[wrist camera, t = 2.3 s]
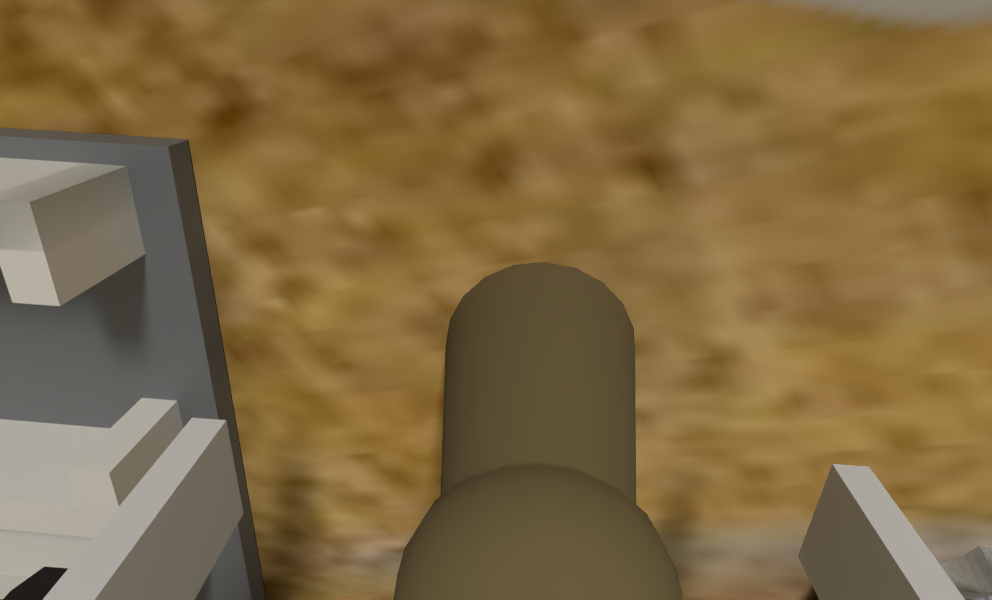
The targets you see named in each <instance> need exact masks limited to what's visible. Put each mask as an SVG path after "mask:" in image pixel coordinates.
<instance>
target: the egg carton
mask: <svg viewBox="0 0 992 600" xmlns="http://www.w3.org/2000/svg"><path fill="white" fill-rule="evenodd" d="M938 563H939V564H940V566H941V567H942V568H943V570H944V571H945V573H946V574H947V575H948V577H949V578H950V579H951V581H952V582H953V584H954V585H955V586H956V588H957V589H958V590H959V592H960V593H961V595H962V596H963V597H964V599H965V600H992V549H991V548H987V547H982V546H978V547H977V548H975V549H973V550H972V551H970V552H969V553H967V554H966V555H964V556H962V557H959V558H956V559H953V560H948V561H938Z"/></svg>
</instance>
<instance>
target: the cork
mask: <svg viewBox="0 0 992 600" xmlns="http://www.w3.org/2000/svg"><path fill="white" fill-rule="evenodd" d="M394 600H682V592H681V589H680V585H679V581H678V577H677V573H676V569H675V566H674V564H673V562H672V560H671V558H670V556H669V554H668V552H667V550H666V548H665V546H664V544H663V542H662V540H661V538H660V536H659V534H658V533H657V531H656V529H655V527H654V526H653V524H652V522H651V521H650V519H649V517H648V515H647V514H646V513H645V512H644V511H643V510H641V509H640V508H639V507H638V506H637V505H636V431H635V345H634V328H633V326H632V324H631V321H630V319H629V317H628V315H627V312H626V310H625V308H624V305H623V303H622V302H621V301H620V300H619V299H618V298H617V297H616V296H615V295H614V294H613V293H612V292H611V291H610V290H609V289H608V288H607V287H606V286H605V284H604V283H603V282H601V281H599V280H597V279H595V278H593V277H591V276H589V275H588V274H586V273H584V272H582V271H580V270H578V269H576V268H572V267H567V266H562V265H557V264H551V263H546V262H542V263H532V264H522V265H513V266H511V267H508V268H506V269H504V270H501V271H499V272H496V273H494V274H492V275H489V276H487V277H485V278H484V279H483V280H481V281H480V282H479V283H478V284H477V285H476V286H475V287H473V288H472V289H471V290H470V291H469V292H468V293H466V294H465V295H464V296H463V298H462V300H461V301H460V303H459V305H458V307H457V308H456V310H455V312H454V314H453V315H452V317H451V319H450V323H449V330H448V336H447V342H446V359H445V388H444V417H443V445H442V474H441V497H440V498H438V499H437V500H436V501H435V502H434V504H433V505H432V507H431V508H430V510H429V511H428V513H427V514H426V516H425V517H424V519H423V520H422V522H421V523H420V525H419V526H418V528H417V530H416V531H415V533H414V534H413V536H412V538H411V539H410V541H409V543H408V544H407V546H406V547H405V550H404V553H403V557H402V561H401V564H400V568H399V571H398V575H397V581H396V588H395V595H394Z"/></svg>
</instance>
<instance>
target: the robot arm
mask: <svg viewBox="0 0 992 600" xmlns="http://www.w3.org/2000/svg"><path fill="white" fill-rule="evenodd" d="M242 515H243V508H242V503H241V497H240V492H239V486H238V481H237V475H236V470H235V465H234V459H233V454H232V448H231V443H230V437H229V432H228V427H227V421H226V420H217V419H203V418H191V419H190V421H189V422H188V423H187V424H186V426H185V427H184V428H183V429H182V430H181V432H180V433H179V434H178V435H177V437H176V438H175V439H174V440H173V441H172V443H171V444H170V445H169V446H168V448H167V449H166V450H165V451H164V452H163V454H162V455H161V456H160V457H159V458H158V460H157V461H156V462H155V463H154V465H153V466H152V467H151V468H150V469H149V471H148V472H147V473H146V474H145V476H144V477H143V478H142V479H141V480H140V482H139V483H138V484H137V485H136V486H135V488H134V489H133V490H132V491H131V493H130V494H129V495H128V496H127V497H126V499H125V500H124V501H123V502H122V504H121V505H120V506H119V507H118V508H117V510H116V511H115V512H114V513H113V515H112V516H111V517H110V518H109V519H108V521H107V522H106V523H105V524H104V525H103V527H102V528H101V529H100V530H99V532H98V533H97V534H96V535H95V536H94V538H93V539H92V540H91V541H90V543H89V544H88V545H87V546H86V547H85V549H84V550H83V551H82V552H81V554H80V555H79V556H78V557H77V558H76V560H75V561H74V562H73V563H72V564H71V566H70V567H69V568H57V567H43V568H42V569H40V570H39V571H37V572H36V573H35V574H33V575H32V576H31V577H29V578H28V579H26V580H25V581H24V582H22V583H21V584H19V585H18V586H17V587H15V588H14V589H12V590H11V591H10V592H9V593H8V594H7V595H6V597H5V598H4V599H3V600H195V598H196V596H197V595H198V593H199V591H200V589H201V587H202V586H203V584H204V582H205V580H206V579H207V577H208V575H209V573H210V572H211V570H212V568H213V566H214V565H215V563H216V561H217V559H218V557H219V556H220V554H221V552H222V550H223V549H224V547H225V545H226V543H227V542H228V540H229V538H230V536H231V535H232V533H233V531H234V529H235V527H236V526H237V524H238V522H239V520H240V519H241V517H242ZM798 557H799V559H800V561H801V563H802V565H803V567H804V569H805V571H806V573H807V575H808V578H809V580H810V582H811V584H812V586H813V588H814V590H815V592H816V594H817V596H818V598H819V600H965V599H964V597H963V596H962V595H961V593H960V592H959V590H958V589H957V588H956V586H955V585H954V584H953V582H952V581H951V579H950V578H949V577H948V575H947V574H946V573H945V571H944V570H943V568H942V567H941V566H940V564H939V563H938V561H937V560H936V559H935V557H934V556H933V555H932V553H931V552H930V550H929V549H928V548H927V546H926V545H925V544H924V542H923V541H922V539H921V538H920V537H919V535H918V534H917V532H916V531H915V530H914V528H913V527H912V526H911V524H910V523H909V521H908V520H907V519H906V517H905V516H904V514H903V513H902V512H901V510H900V509H899V508H898V506H897V505H896V503H895V502H894V501H893V499H892V498H891V497H890V495H889V494H888V492H887V491H886V490H885V488H884V487H883V485H882V484H881V483H880V481H879V480H878V479H877V477H876V476H875V474H874V473H873V472H872V470H871V469H870V468H869V467H866V466H852V465H838V464H832V467H831V469H830V472H829V475H828V477H827V480H826V483H825V485H824V488H823V491H822V493H821V496H820V499H819V502H818V504H817V507H816V510H815V512H814V515H813V518H812V520H811V523H810V526H809V528H808V531H807V534H806V536H805V539H804V542H803V544H802V547H801V550H800V552H799V555H798Z"/></svg>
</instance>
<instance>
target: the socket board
mask: <svg viewBox="0 0 992 600" xmlns="http://www.w3.org/2000/svg"><path fill="white" fill-rule="evenodd" d="M191 418H203V419H217V420H226V421H227V427H228V432H229V437H230V443H231V448H232V454H233V459H234V465H235V470H236V475H237V481H238V486H239V492H240V497H241V503H242V508H243V515H242V517H241V519H240V520H239V522H238V524H237V526H236V527H235V529H234V531H233V533H232V535H231V536H230V538H229V540H228V542H227V543H226V545H225V547H224V549H223V550H222V552H221V554H220V556H219V557H218V559H217V561H216V563H215V565H214V566H213V568H212V570H211V572H210V573H209V575H208V577H207V579H206V580H205V582H204V584H203V586H202V587H201V589H200V591H199V593H198V595H197V596H196V598H195V600H266V598H265V592H264V586H263V580H262V575H261V569H260V563H259V557H258V551H257V545H256V539H255V533H254V527H253V522H252V516H251V510H250V504H249V498H248V492H247V486H246V480H245V474H244V468H243V463H242V457H241V451H240V445H239V439H238V433H237V427H236V421H235V415H234V410H233V404H232V398H231V392H230V386H229V380H228V374H227V368H226V362H225V357H224V351H223V345H222V339H221V333H220V327H219V321H218V315H217V309H216V304H215V298H214V292H213V286H212V280H211V274H210V268H209V262H208V256H207V251H206V245H205V239H204V233H203V227H202V221H201V215H200V209H199V203H198V198H197V192H196V186H195V180H194V174H193V168H192V162H191V156H190V150H189V145H188V140H185V139H169V138H153V137H137V136H121V135H106V134H90V133H74V132H58V131H43V130H27V129H11V128H0V600H3V599H4V598H5V597H6V595H7V594H8V593H9V592H10V591H11V590H12V589H14V588H15V587H17V586H18V585H19V584H21V583H22V582H24V581H25V580H26V579H28V578H29V577H31V576H32V575H33V574H35V573H36V572H37V571H39V570H40V569H42V568H43V567H57V568H69V567H70V566H71V564H72V563H73V562H74V561H75V560H76V558H77V557H78V556H79V555H80V554H81V552H82V551H83V550H84V549H85V547H86V546H87V545H88V544H89V543H90V541H91V540H92V539H93V538H94V536H95V535H96V534H97V533H98V532H99V530H100V529H101V528H102V527H103V525H104V524H105V523H106V522H107V521H108V519H109V518H110V517H111V516H112V515H113V513H114V512H115V511H116V510H117V508H118V507H119V506H120V505H121V504H122V502H123V501H124V500H125V499H126V497H127V496H128V495H129V494H130V493H131V491H132V490H133V489H134V488H135V486H136V485H137V484H138V483H139V482H140V480H141V479H142V478H143V477H144V476H145V474H146V473H147V472H148V471H149V469H150V468H151V467H152V466H153V465H154V463H155V462H156V461H157V460H158V458H159V457H160V456H161V455H162V454H163V452H164V451H165V450H166V449H167V448H168V446H169V445H170V444H171V443H172V441H173V440H174V439H175V438H176V437H177V435H178V434H179V433H180V432H181V430H182V429H183V428H184V427H185V426H186V424H187V423H188V422H189V421H190V419H191Z"/></svg>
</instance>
